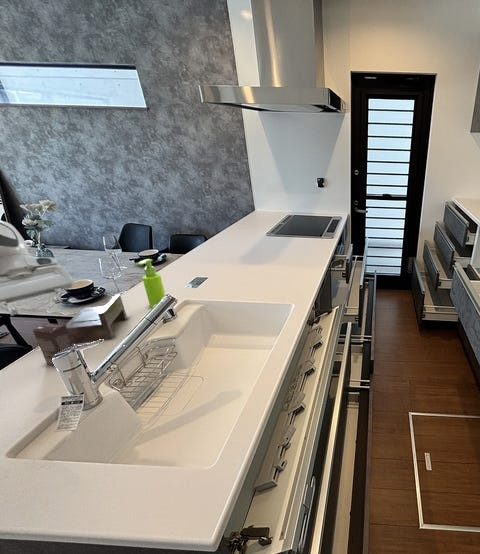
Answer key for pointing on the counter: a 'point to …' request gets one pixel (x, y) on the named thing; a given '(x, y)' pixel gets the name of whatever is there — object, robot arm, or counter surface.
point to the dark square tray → (96, 321)
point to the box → (52, 339)
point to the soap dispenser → (152, 283)
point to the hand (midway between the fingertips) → (37, 308)
